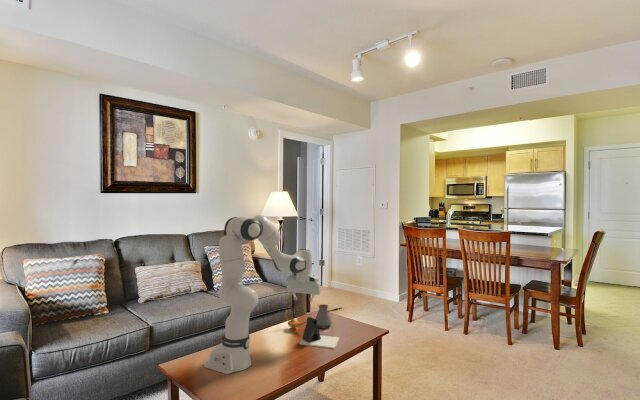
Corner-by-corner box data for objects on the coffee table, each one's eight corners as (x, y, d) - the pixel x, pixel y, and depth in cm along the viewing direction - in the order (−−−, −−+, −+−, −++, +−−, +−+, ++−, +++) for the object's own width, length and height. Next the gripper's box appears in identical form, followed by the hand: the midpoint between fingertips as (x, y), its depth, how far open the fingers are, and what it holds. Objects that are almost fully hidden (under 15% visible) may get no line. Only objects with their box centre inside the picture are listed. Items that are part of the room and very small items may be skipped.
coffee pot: (310, 326, 215) (310, 302, 215) (321, 321, 224) (322, 298, 224) (336, 334, 201) (337, 310, 202) (347, 329, 210) (348, 305, 210)
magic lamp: (303, 335, 200) (303, 316, 200) (281, 328, 210) (281, 310, 211) (310, 331, 205) (310, 313, 205) (288, 325, 216) (288, 308, 216)
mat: (299, 344, 187) (299, 342, 187) (306, 334, 201) (306, 333, 201) (334, 348, 182) (334, 347, 182) (339, 338, 196) (339, 337, 196)
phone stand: (308, 342, 188) (308, 321, 188) (302, 339, 192) (302, 318, 192) (320, 339, 193) (321, 318, 193) (314, 335, 198) (315, 315, 198)
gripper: (285, 276, 194) (284, 300, 194) (319, 279, 188) (318, 304, 188) (289, 274, 200) (288, 297, 200) (322, 277, 194) (321, 301, 194)
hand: (303, 300), depth 194 cm, fingers open, 8 cm apart
